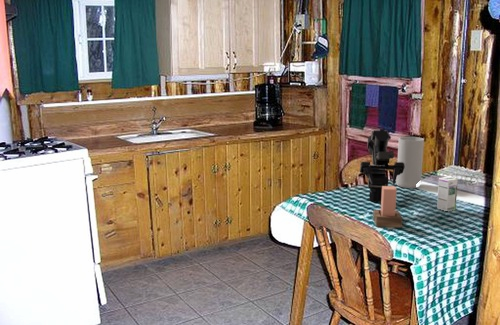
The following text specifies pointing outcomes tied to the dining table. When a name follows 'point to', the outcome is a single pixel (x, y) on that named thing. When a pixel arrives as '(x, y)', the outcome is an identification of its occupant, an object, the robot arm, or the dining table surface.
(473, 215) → the dining table surface
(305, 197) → the dining table surface
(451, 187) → the syrup box
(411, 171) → the cylinder vase
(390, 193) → the square peg
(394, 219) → the socket block
